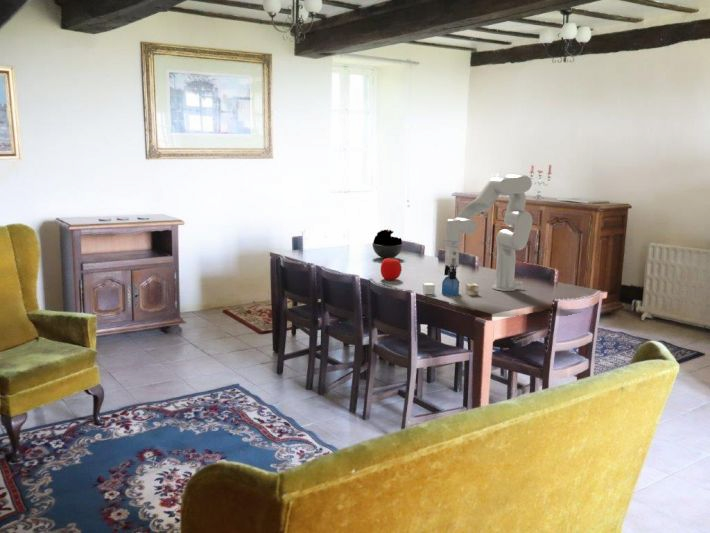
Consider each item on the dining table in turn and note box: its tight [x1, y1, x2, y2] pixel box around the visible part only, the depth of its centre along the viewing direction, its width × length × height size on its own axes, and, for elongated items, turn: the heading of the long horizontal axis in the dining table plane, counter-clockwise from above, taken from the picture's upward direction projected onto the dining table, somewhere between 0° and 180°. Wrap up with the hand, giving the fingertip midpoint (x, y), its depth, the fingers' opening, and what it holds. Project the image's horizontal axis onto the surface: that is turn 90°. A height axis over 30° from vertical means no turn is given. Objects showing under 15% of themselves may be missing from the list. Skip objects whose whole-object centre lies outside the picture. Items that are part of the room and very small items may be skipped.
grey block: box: [422, 282, 436, 295], centre depth 323 cm, size 5×5×5 cm
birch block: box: [465, 283, 479, 296], centre depth 324 cm, size 5×5×5 cm
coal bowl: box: [371, 229, 404, 260], centre depth 417 cm, size 20×20×19 cm
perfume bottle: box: [441, 270, 460, 297], centre depth 323 cm, size 6×6×12 cm
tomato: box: [380, 257, 402, 281], centre depth 353 cm, size 12×12×13 cm
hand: (449, 277), depth 322 cm, fingers open, 9 cm apart
